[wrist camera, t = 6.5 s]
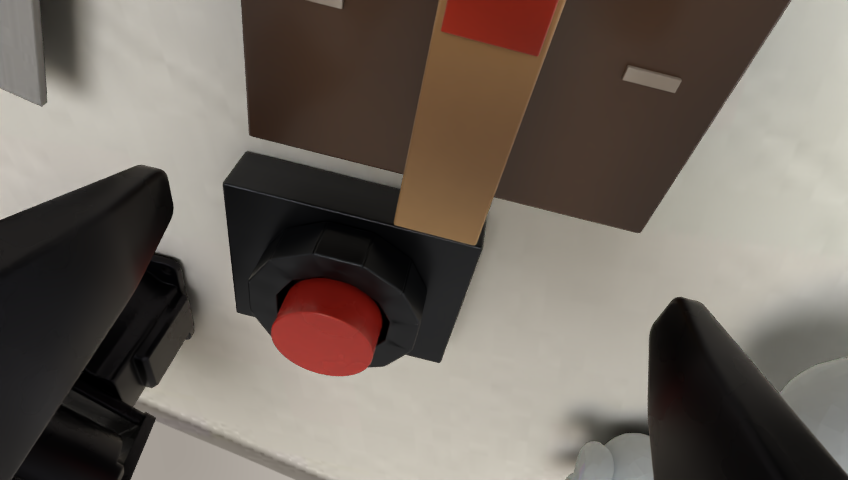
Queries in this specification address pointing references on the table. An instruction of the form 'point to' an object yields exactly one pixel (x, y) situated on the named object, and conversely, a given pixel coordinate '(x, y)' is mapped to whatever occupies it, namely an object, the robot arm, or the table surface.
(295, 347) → the button
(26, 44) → the electrical outlet
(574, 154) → the panel
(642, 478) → the toy
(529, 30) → the knob
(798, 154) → the table surface
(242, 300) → the button box
